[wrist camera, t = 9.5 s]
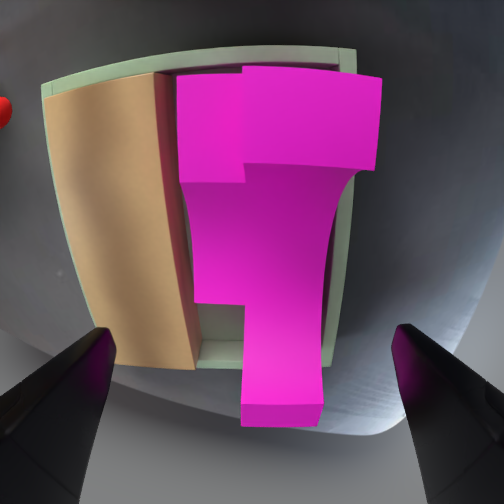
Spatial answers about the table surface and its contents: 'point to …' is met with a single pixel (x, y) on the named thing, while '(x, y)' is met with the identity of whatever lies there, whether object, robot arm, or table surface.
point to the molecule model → (5, 111)
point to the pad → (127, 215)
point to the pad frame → (210, 315)
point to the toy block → (272, 213)
